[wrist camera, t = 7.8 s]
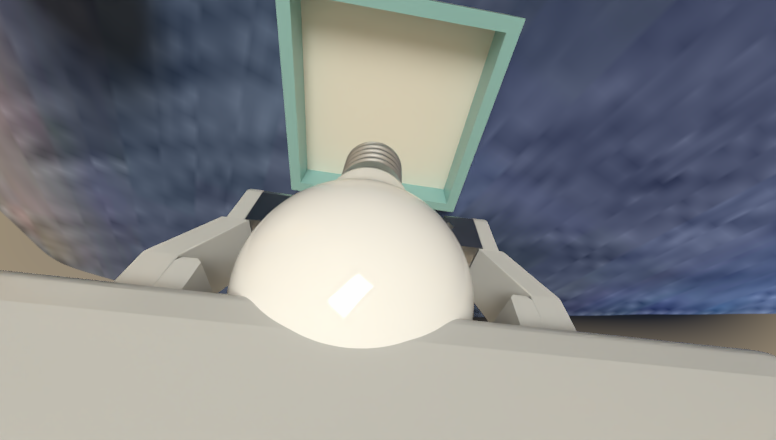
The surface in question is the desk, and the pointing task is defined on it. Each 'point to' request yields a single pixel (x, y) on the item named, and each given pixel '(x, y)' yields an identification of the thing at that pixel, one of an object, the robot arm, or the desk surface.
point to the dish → (391, 86)
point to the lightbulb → (356, 259)
